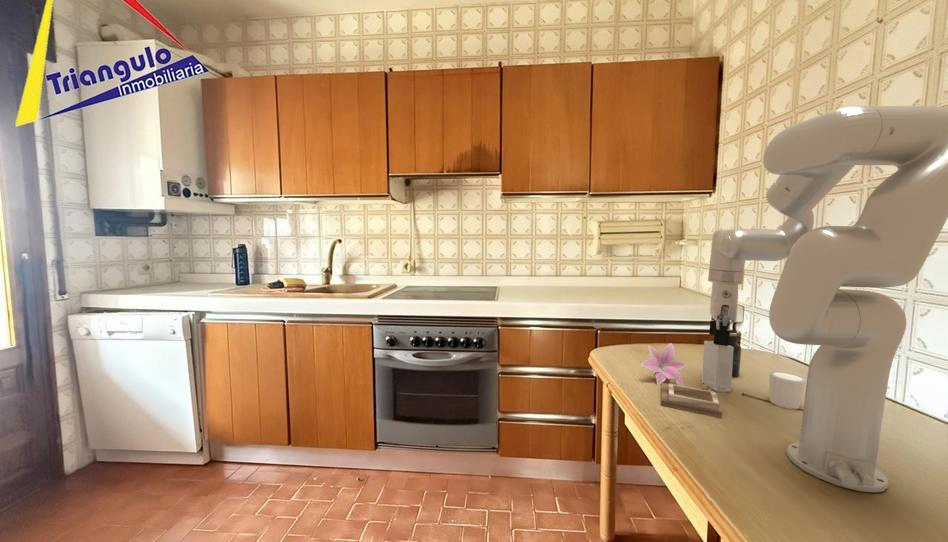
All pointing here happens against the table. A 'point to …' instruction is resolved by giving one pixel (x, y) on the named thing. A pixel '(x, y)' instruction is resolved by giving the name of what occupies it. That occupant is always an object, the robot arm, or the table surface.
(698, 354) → the table surface
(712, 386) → the skincare box
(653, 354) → the lily
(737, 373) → the supplement bottle
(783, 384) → the white cylinder
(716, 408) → the square wooden tray
